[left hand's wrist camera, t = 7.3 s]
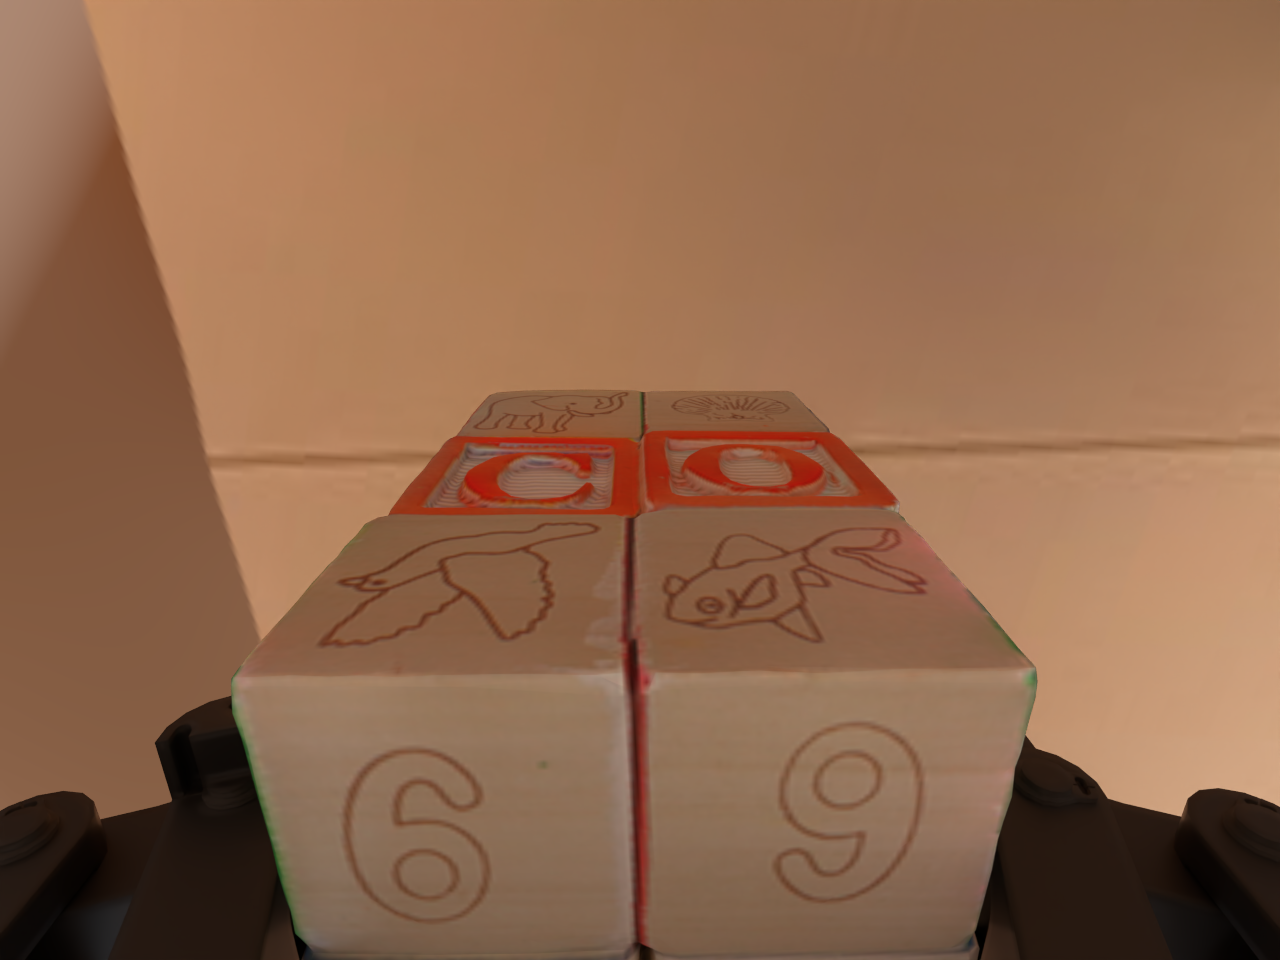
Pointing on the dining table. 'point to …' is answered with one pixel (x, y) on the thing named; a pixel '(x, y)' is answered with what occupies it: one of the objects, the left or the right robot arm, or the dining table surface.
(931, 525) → the dining table surface
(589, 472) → the stack of blocks
